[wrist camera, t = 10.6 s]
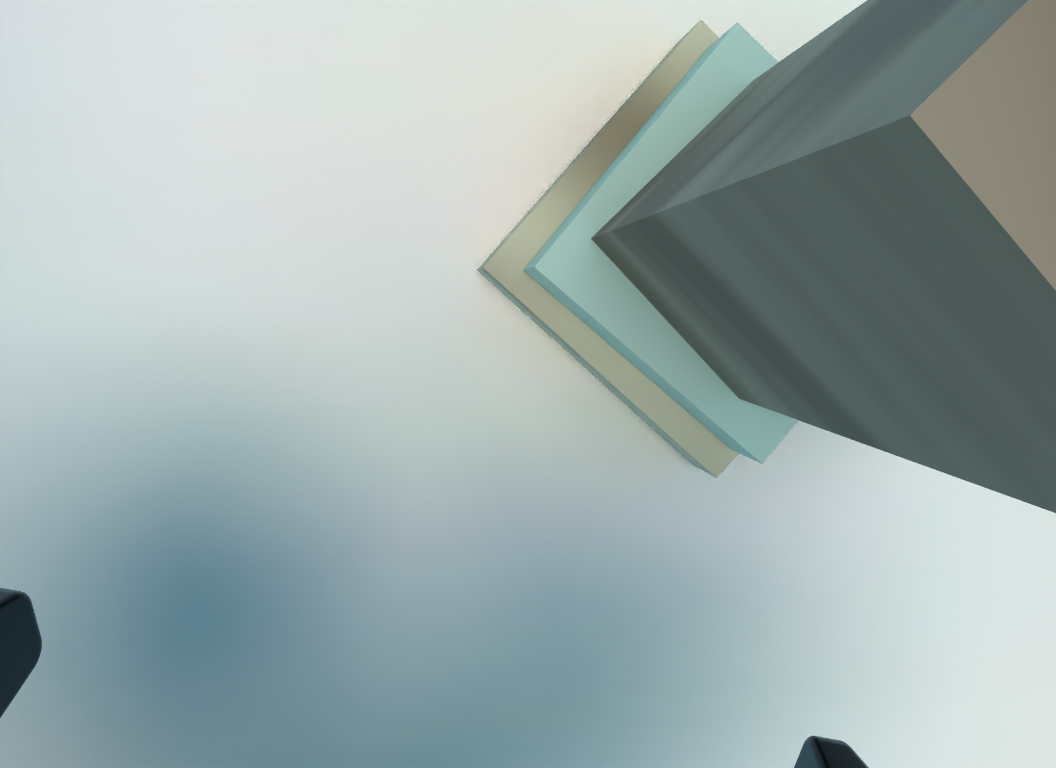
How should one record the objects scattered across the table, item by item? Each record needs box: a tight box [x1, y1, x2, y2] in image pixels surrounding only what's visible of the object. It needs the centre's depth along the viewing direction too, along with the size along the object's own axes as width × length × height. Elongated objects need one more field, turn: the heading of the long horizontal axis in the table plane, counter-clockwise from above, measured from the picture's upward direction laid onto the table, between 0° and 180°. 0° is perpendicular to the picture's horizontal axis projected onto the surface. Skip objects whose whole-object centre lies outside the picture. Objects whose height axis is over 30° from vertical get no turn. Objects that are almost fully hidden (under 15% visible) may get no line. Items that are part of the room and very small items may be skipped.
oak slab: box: [478, 20, 738, 478], centre depth 22 cm, size 8×8×2 cm
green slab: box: [523, 23, 798, 463], centre depth 20 cm, size 7×7×2 cm
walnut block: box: [591, 0, 1056, 513], centre depth 13 cm, size 5×5×13 cm
